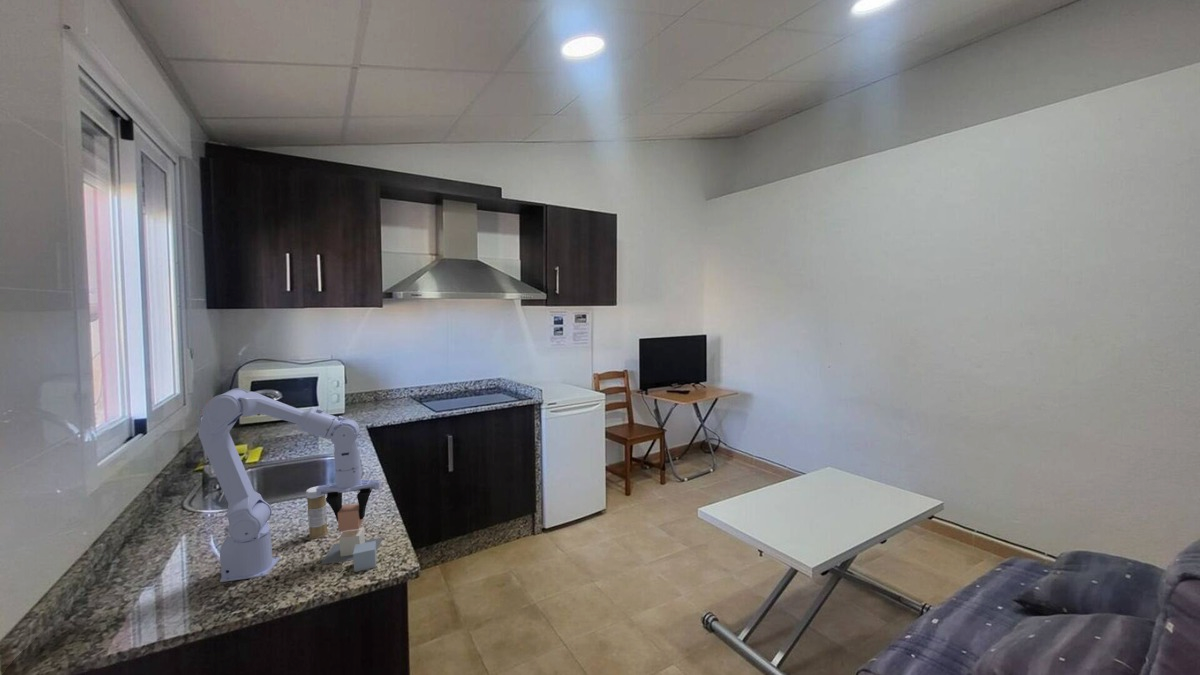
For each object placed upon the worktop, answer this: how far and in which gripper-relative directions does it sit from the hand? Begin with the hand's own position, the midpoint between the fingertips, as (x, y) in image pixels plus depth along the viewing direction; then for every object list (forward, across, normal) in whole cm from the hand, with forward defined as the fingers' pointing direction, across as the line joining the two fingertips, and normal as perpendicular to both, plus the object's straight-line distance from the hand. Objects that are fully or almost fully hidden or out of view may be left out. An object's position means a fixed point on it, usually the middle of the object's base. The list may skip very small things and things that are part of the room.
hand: (351, 518), depth 119 cm
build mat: (+9, 0, 0) cm, 9 cm away
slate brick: (+9, +5, -8) cm, 13 cm away
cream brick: (+8, 0, 0) cm, 8 cm away
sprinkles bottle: (+9, -12, +12) cm, 19 cm away
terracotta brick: (+2, 0, 0) cm, 2 cm away
